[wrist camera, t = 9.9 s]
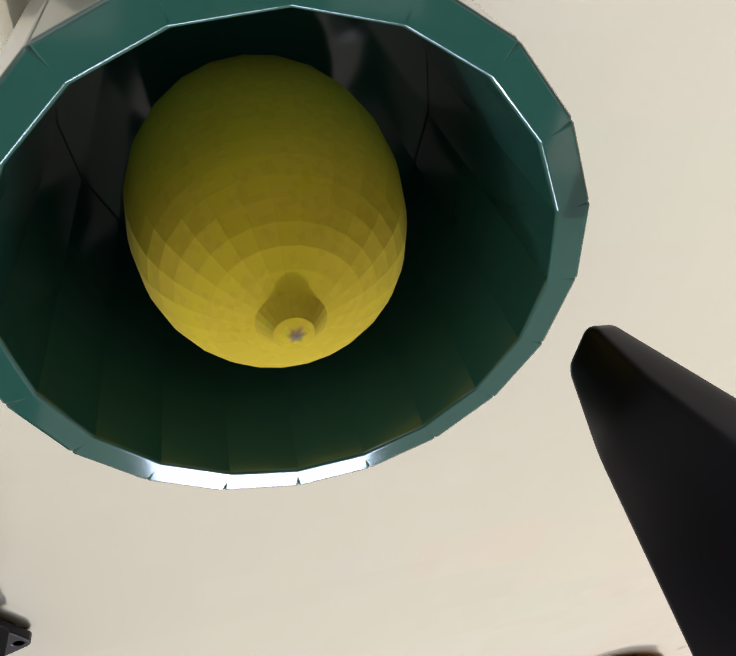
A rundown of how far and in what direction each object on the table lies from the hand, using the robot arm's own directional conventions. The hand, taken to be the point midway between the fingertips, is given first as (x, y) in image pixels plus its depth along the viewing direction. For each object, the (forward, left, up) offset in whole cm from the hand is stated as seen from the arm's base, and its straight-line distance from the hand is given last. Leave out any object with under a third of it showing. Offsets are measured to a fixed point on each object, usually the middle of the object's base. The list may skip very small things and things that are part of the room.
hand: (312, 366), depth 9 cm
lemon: (0, 0, -9) cm, 9 cm away
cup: (0, 0, -10) cm, 10 cm away
